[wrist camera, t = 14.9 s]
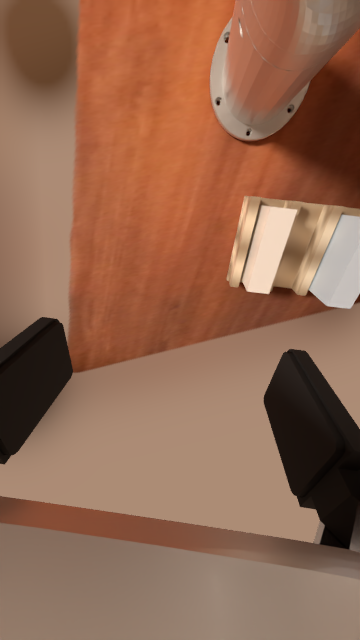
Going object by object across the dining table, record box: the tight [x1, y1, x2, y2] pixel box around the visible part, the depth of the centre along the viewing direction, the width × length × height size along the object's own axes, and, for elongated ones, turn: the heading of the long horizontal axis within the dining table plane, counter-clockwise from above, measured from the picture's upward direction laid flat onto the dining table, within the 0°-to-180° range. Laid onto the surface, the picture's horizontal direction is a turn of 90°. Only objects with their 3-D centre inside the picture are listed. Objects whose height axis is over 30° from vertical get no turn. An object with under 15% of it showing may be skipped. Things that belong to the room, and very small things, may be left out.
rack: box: [226, 196, 360, 296], centre depth 36 cm, size 14×20×4 cm
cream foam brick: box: [241, 205, 297, 294], centre depth 34 cm, size 12×4×7 cm, turn 174°
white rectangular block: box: [308, 214, 360, 309], centre depth 33 cm, size 12×4×9 cm, turn 174°
